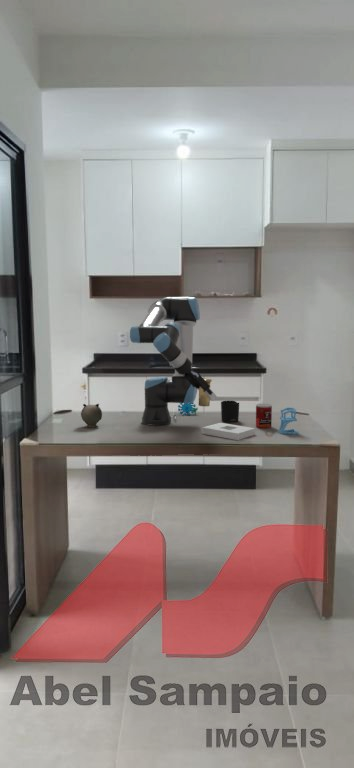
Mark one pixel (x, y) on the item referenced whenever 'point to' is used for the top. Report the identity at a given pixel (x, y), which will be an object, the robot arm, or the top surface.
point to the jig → (229, 431)
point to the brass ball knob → (204, 395)
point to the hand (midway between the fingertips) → (211, 397)
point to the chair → (287, 421)
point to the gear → (187, 408)
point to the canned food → (263, 415)
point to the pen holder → (229, 411)
